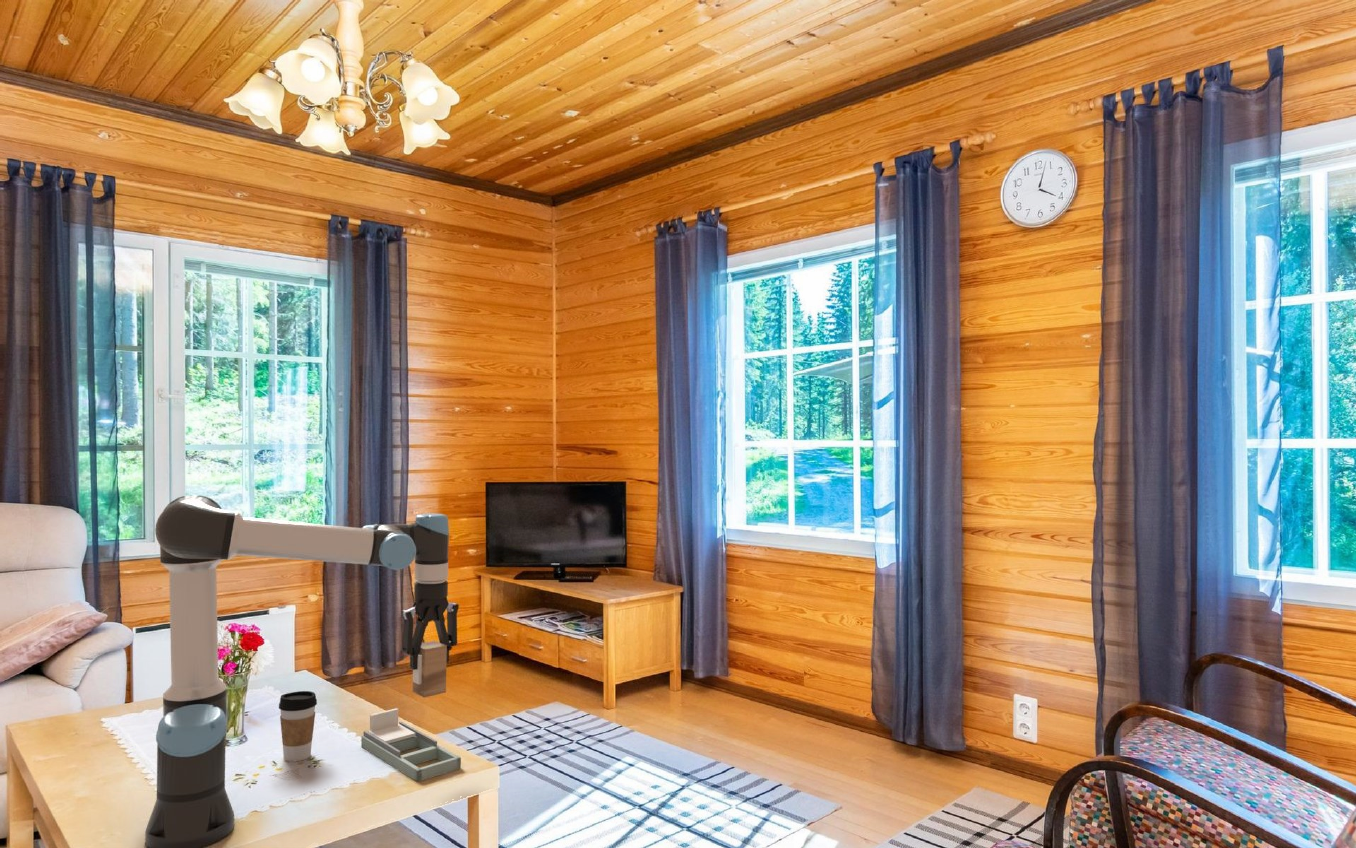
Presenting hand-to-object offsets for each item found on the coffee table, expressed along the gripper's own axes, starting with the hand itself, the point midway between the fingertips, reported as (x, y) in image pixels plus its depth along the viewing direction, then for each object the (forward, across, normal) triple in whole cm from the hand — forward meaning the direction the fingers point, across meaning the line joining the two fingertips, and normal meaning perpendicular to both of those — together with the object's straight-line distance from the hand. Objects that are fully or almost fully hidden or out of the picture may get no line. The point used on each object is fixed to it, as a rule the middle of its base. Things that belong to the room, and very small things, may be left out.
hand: (429, 679), depth 201 cm
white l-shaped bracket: (+18, 0, -18) cm, 26 cm away
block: (+3, 0, 0) cm, 3 cm away
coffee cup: (+21, +20, -27) cm, 39 cm away
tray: (+21, 0, -9) cm, 23 cm away
